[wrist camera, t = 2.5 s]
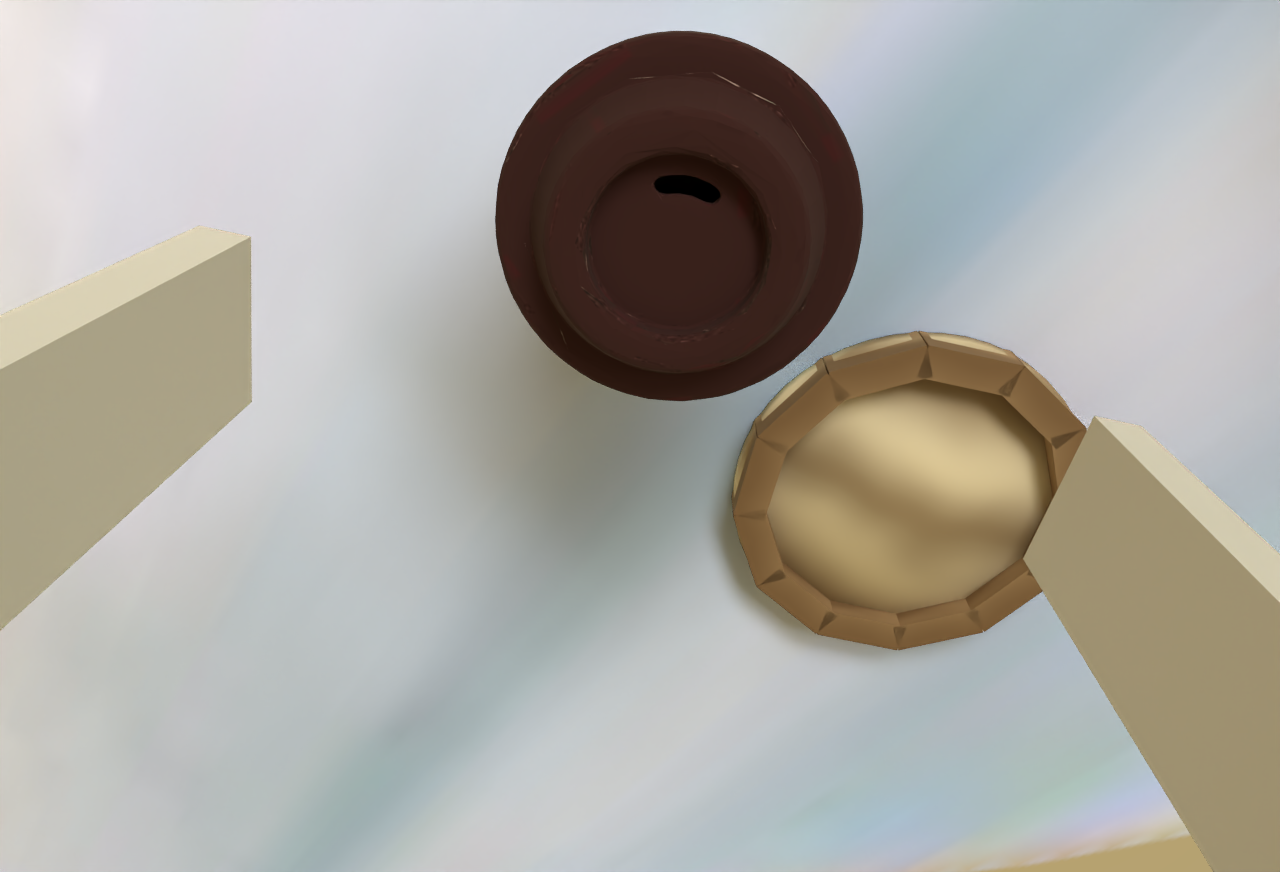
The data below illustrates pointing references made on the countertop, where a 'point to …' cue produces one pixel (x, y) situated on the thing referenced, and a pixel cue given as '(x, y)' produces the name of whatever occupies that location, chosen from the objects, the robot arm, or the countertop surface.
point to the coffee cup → (679, 216)
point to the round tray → (903, 488)
